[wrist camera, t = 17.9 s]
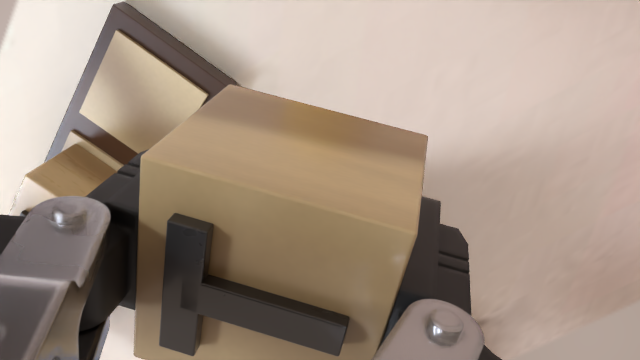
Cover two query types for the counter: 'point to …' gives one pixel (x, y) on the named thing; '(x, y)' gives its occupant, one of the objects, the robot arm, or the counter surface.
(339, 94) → the counter surface
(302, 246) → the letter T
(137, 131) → the word board
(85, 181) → the letter I
